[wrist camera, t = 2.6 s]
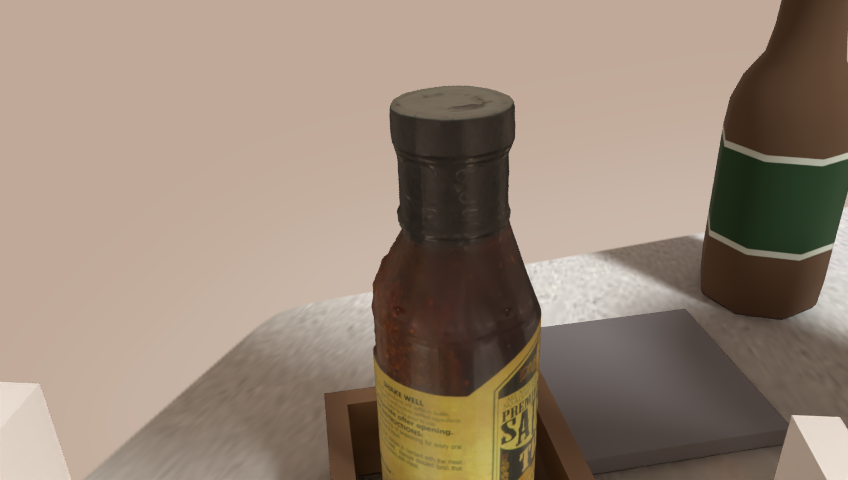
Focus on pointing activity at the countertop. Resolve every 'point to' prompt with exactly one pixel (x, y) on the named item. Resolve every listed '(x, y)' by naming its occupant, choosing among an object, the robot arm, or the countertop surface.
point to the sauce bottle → (455, 298)
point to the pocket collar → (360, 445)
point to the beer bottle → (782, 168)
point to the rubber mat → (652, 392)
